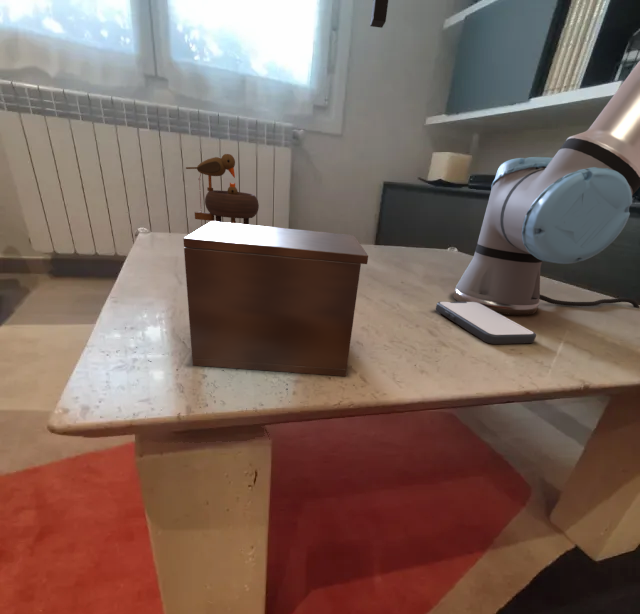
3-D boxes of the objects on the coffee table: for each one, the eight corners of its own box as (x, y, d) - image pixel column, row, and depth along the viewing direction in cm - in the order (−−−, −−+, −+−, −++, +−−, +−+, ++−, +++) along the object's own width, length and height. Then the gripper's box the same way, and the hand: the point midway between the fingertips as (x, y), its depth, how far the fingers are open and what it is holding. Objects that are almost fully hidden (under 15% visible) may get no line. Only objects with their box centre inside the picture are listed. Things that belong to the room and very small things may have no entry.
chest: (337, 334, 58) (348, 241, 52) (345, 376, 46) (360, 264, 40) (215, 324, 57) (211, 228, 50) (192, 365, 45) (183, 247, 39)
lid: (353, 242, 52) (354, 235, 51) (367, 264, 40) (368, 255, 40) (211, 228, 50) (211, 220, 50) (183, 247, 39) (183, 237, 38)
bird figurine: (195, 281, 74) (185, 146, 65) (191, 272, 84) (183, 153, 74) (279, 282, 79) (281, 157, 70) (267, 274, 88) (268, 161, 79)
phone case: (537, 345, 62) (474, 310, 75) (541, 335, 62) (477, 301, 74) (487, 346, 60) (431, 310, 72) (490, 336, 59) (433, 300, 72)
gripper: (352, -391, 34) (324, 6, 47) (506, -359, 35) (439, 22, 48) (345, -304, 41) (322, 25, 53) (476, -279, 42) (423, 38, 54)
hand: (377, 23), depth 50 cm, fingers closed
